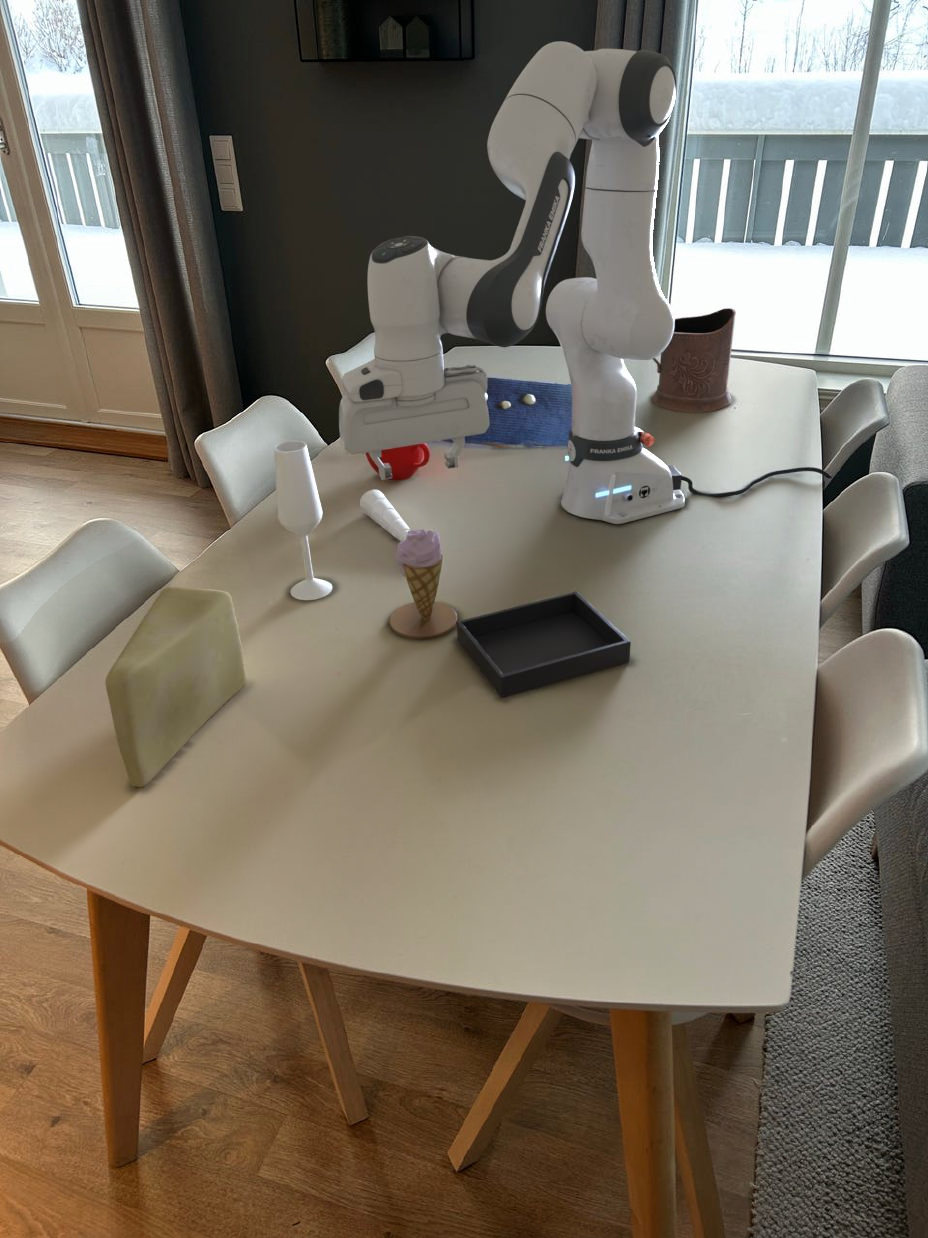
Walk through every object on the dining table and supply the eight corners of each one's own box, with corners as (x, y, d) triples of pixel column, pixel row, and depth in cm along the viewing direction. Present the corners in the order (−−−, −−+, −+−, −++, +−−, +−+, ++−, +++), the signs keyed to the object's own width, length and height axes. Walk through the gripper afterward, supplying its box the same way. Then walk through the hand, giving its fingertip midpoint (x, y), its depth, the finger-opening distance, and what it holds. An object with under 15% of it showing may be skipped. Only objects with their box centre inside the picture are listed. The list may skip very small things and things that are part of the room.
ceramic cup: (404, 499, 173) (400, 449, 167) (352, 475, 184) (347, 427, 178) (455, 479, 180) (453, 431, 174) (403, 457, 191) (399, 411, 186)
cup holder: (740, 410, 207) (754, 296, 194) (634, 413, 208) (641, 301, 195) (721, 385, 223) (733, 279, 210) (623, 389, 224) (629, 283, 211)
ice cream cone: (411, 633, 131) (403, 540, 123) (394, 614, 136) (385, 523, 128) (453, 621, 133) (447, 529, 125) (434, 602, 138) (428, 513, 130)
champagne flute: (294, 579, 147) (272, 438, 135) (335, 578, 147) (316, 437, 134) (286, 600, 141) (262, 455, 129) (329, 599, 141) (308, 454, 129)
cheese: (175, 794, 104) (146, 689, 97) (99, 785, 106) (65, 681, 98) (251, 683, 123) (232, 586, 115) (185, 676, 125) (162, 581, 117)
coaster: (448, 599, 140) (448, 596, 139) (464, 632, 131) (464, 629, 131) (384, 610, 138) (384, 607, 138) (397, 644, 129) (396, 641, 129)
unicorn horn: (408, 568, 149) (406, 542, 146) (360, 515, 167) (357, 491, 165) (435, 561, 150) (433, 535, 148) (384, 509, 169) (381, 485, 166)
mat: (589, 414, 216) (593, 372, 207) (582, 487, 198) (586, 445, 189) (404, 400, 221) (400, 359, 212) (380, 471, 203) (376, 429, 194)
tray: (575, 610, 136) (576, 591, 134) (629, 661, 123) (630, 641, 122) (457, 641, 130) (456, 621, 128) (501, 698, 118) (501, 677, 116)
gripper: (479, 356, 123) (483, 452, 130) (330, 377, 118) (343, 475, 126) (493, 368, 117) (497, 468, 125) (338, 391, 113) (351, 493, 121)
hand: (419, 472), depth 125 cm, fingers open, 8 cm apart
